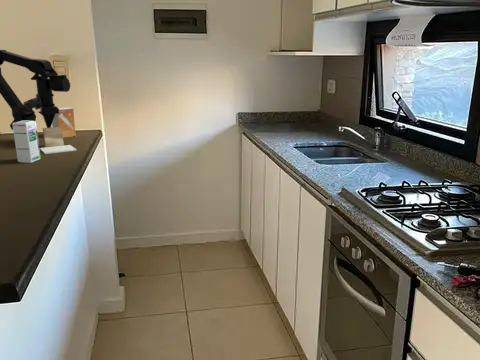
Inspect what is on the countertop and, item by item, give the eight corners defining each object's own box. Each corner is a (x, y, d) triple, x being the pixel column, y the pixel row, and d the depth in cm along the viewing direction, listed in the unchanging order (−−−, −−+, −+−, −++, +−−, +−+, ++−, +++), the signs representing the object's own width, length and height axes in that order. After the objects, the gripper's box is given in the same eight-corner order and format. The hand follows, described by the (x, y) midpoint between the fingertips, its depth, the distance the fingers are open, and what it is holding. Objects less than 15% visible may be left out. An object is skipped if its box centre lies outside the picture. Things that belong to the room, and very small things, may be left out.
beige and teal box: (44, 147, 191) (42, 128, 189) (62, 145, 195) (60, 126, 193) (46, 148, 189) (44, 129, 187) (63, 146, 193) (61, 127, 191)
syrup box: (31, 163, 166) (26, 122, 162) (17, 162, 167) (11, 122, 163) (41, 159, 171) (36, 120, 167) (27, 158, 172) (22, 119, 168)
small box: (59, 138, 209) (56, 109, 205) (53, 136, 213) (50, 108, 209) (76, 136, 214) (73, 108, 211) (70, 134, 219) (67, 106, 215)
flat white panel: (39, 149, 188) (39, 148, 187) (70, 146, 194) (70, 144, 194) (44, 154, 180) (44, 152, 179) (76, 150, 186) (76, 149, 186)
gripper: (19, 90, 195) (24, 126, 199) (27, 94, 180) (32, 133, 184) (47, 89, 201) (51, 124, 205) (57, 92, 186) (61, 131, 190)
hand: (48, 128), depth 196 cm, fingers closed
